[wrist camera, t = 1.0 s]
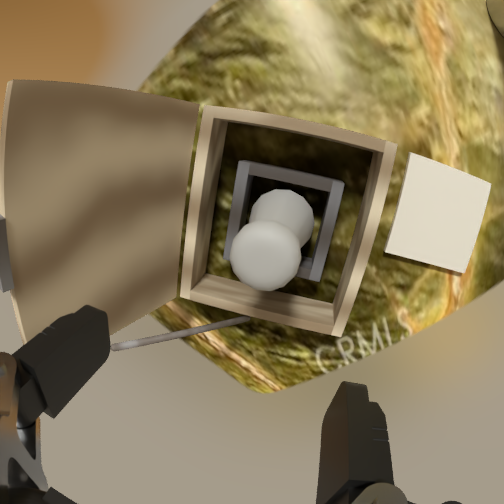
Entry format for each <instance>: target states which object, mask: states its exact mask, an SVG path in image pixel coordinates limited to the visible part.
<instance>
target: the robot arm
mask: <svg viewBox="0 0 504 504" xmlns="http://www.w3.org/2000/svg"><path fill="white" fill-rule="evenodd" d="M486 1H487V8H488V11H489V14H490V16H491V19H492V21H493V22H494V24H495V26H496V27H497V29H498V30H499V32H500V33H501V34H502V36H503V37H504V0H486ZM110 347H111V346H110V336H109V325H108V316H107V313H106V312H105V311H103V310H100V309H98V308H95V307H93V306H90V305H84V306H83V307H82V308H80V309H79V310H78V311H76V312H75V313H70V314H67V315H65V316H62V317H59V318H58V319H57V320H55V321H54V322H53V323H51V324H50V326H49V327H48V326H47V327H46V328H45V329H44V330H42V333H38V334H37V335H36V336H35V337H33V338H32V339H31V340H30V341H28V342H27V343H26V344H25V345H23V346H22V347H21V348H20V349H18V351H16V352H15V353H14V354H12V355H10V354H9V353H5V352H0V504H77V503H75V502H74V501H72V500H70V499H69V498H67V497H66V496H64V495H63V494H61V493H59V492H58V491H57V490H55V489H53V488H52V487H50V488H49V489H48V484H47V480H46V477H45V475H44V472H43V469H42V464H41V443H40V418H39V416H40V414H41V413H42V412H45V413H46V414H47V415H49V416H50V417H52V418H55V417H56V416H57V415H58V414H59V412H60V411H61V410H62V409H63V408H64V407H65V406H66V405H67V403H68V402H69V401H70V400H71V399H72V398H73V397H74V396H75V394H76V393H77V392H78V391H79V390H80V389H81V388H82V387H83V386H84V384H85V383H86V382H87V381H88V380H89V379H90V378H91V377H92V375H94V373H95V372H96V371H97V370H98V369H99V368H100V367H101V366H102V365H103V364H104V363H105V361H106V360H107V358H108V356H109V353H110ZM388 440H389V438H388V431H387V424H386V418H385V414H384V413H383V411H382V409H381V408H380V406H379V405H378V403H376V402H369V397H368V390H367V386H366V385H363V384H358V383H351V382H346V381H343V382H342V383H341V384H340V386H339V388H338V390H337V392H336V394H335V396H334V398H333V400H332V402H331V404H330V406H329V408H328V409H327V411H326V414H325V416H324V420H323V423H322V433H321V450H320V463H319V477H318V487H317V498H316V504H414V503H411V502H409V501H407V498H406V497H405V495H404V493H403V492H402V491H401V490H400V489H399V488H398V487H396V486H395V485H394V481H393V471H392V462H391V453H390V445H389V442H388ZM442 504H461V503H460V502H457V501H448V502H444V503H442Z"/></svg>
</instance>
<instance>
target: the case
mask: <svg viewBox="0 0 504 504" xmlns="http://www.w3.org/2000/svg"><path fill="white" fill-rule="evenodd" d="M228 122H231V123H239V124H245V125H252V126H258V127H264V128H270V129H275V130H281V131H286V132H291V133H296V134H301V135H306V136H311V137H315V138H320V139H324V140H328V141H332V142H337V143H341V144H345V145H349V146H353V147H356V148H360V149H364V150H367V151H371V152H373V156H372V160H371V165H370V170H369V174H368V178H367V183H366V187H365V191H364V195H363V200H362V204H361V208H360V212H359V215H358V219H357V223H356V227H355V231H354V234H353V238H352V241H351V245H350V249H349V252H348V255H347V259H346V262H345V266H344V269H343V272H342V276H341V279H340V282H339V285H338V288H337V291H336V295H335V298H334V301H333V304H331V303H327V302H322V301H318V300H313V299H309V298H305V297H301V296H296V295H292V294H288V293H284V292H279V291H275V290H272V291H263V290H255V289H253V288H251V287H249V286H247V285H245V284H244V283H242V282H239V281H235V280H231V279H227V278H223V277H219V276H215V275H211V274H207V273H206V265H207V258H208V250H209V242H210V235H211V228H212V220H213V213H214V207H215V200H216V193H217V187H218V180H219V174H220V167H221V161H222V155H223V149H224V143H225V137H226V131H227V126H228ZM397 145H398V144H395V143H392V142H389V141H386V140H382V139H379V138H375V137H372V136H368V135H365V134H361V133H357V132H354V131H350V130H346V129H342V128H338V127H333V126H329V125H325V124H320V123H316V122H311V121H306V120H301V119H296V118H291V117H286V116H280V115H275V114H269V113H262V112H256V111H249V110H242V109H234V108H226V107H217V106H208V105H204V110H203V115H202V121H201V127H200V133H199V139H198V146H197V152H196V159H195V166H194V173H193V180H192V187H191V195H190V203H189V211H188V219H187V228H186V238H185V247H184V258H183V269H182V280H181V293H180V297H182V298H186V299H189V300H193V301H196V302H200V303H203V304H207V305H210V306H214V307H218V308H221V309H225V310H229V311H232V312H236V313H240V314H244V315H245V316H241V317H237V318H233V319H229V320H224V321H220V322H216V323H212V324H207V325H203V326H199V327H194V328H190V329H185V330H181V331H176V332H171V333H167V334H162V335H157V336H152V337H147V338H142V339H138V340H132V341H127V342H121V343H116V344H112V345H111V350H113V351H119V350H124V349H129V348H134V347H139V346H144V345H149V344H154V343H158V342H163V341H168V340H172V339H177V338H181V337H185V336H190V335H194V334H198V333H202V332H207V331H211V330H215V329H219V328H223V327H227V326H231V325H235V324H238V323H242V322H246V321H249V320H250V318H251V317H250V316H252V317H256V318H260V319H264V320H268V321H272V322H276V323H280V324H284V325H289V326H293V327H297V328H301V329H306V330H310V331H315V332H319V333H324V334H329V335H333V336H338V337H341V335H342V333H343V330H344V328H345V325H346V322H347V320H348V317H349V314H350V312H351V309H352V306H353V303H354V301H355V298H356V295H357V292H358V289H359V286H360V283H361V280H362V277H363V274H364V271H365V268H366V265H367V262H368V258H369V255H370V252H371V249H372V245H373V242H374V239H375V235H376V232H377V228H378V224H379V221H380V217H381V213H382V210H383V206H384V202H385V198H386V194H387V190H388V186H389V182H390V177H391V173H392V168H393V164H394V159H395V155H396V150H397ZM254 176H259V177H264V178H269V179H274V180H279V181H284V182H288V183H293V184H297V185H302V186H306V187H311V188H315V189H319V190H323V191H328V194H327V199H326V203H325V207H324V212H323V216H322V220H321V224H320V228H319V233H318V237H317V241H316V245H315V249H314V252H313V256H312V258H308V257H304V256H301V261H300V264H299V268H298V271H297V273H296V275H295V276H296V277H300V278H305V279H309V280H313V281H317V282H319V281H320V278H321V274H322V271H323V267H324V264H325V260H326V256H327V253H328V249H329V245H330V241H331V237H332V234H333V230H334V226H335V222H336V218H337V214H338V210H339V206H340V201H341V197H342V193H343V189H344V183H343V181H342V180H338V179H334V178H330V177H326V176H321V175H317V174H313V173H308V172H304V171H299V170H295V169H290V168H285V167H281V166H276V165H271V164H266V163H260V162H255V161H250V160H242V161H239V163H238V169H237V175H236V181H235V187H234V193H233V199H232V205H231V211H230V217H229V224H228V230H227V236H226V243H225V249H224V256H223V259H225V260H229V261H230V258H229V256H230V251H231V247H232V243H233V239H234V238H235V236H236V235H237V234H238V233H239V232H240V230H241V229H242V228H243V227H244V226H245V223H246V217H247V212H248V206H249V200H250V195H251V189H252V183H253V178H254Z"/></svg>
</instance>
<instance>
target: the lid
mask: <svg viewBox="0 0 504 504" xmlns="http://www.w3.org/2000/svg"><path fill="white" fill-rule="evenodd" d="M199 106H200V104H196V103H192V102H187V101H183V100H178V99H174V98H169V97H164V96H159V95H154V94H149V93H143V92H138V91H131V90H126V89H119V88H112V87H105V86H98V85H89V84H80V83H70V82H57V81H42V80H41V81H40V80H11V81H9V82H8V83H7V89H6V96H5V103H4V109H3V118H2V128H1V140H0V289H1V290H2V292H6V291H9V290H10V293H11V297H12V302H13V307H14V311H15V315H16V319H17V323H18V327H19V331H20V334H21V338H22V341H23V345H25V344H26V343H27V342H28V341H30V340H31V339H32V338H33V337H35V336H36V335H37V334H38V333H42V330H44V329H45V328H46V327H47V326H48V327H49V326H50V324H51V323H53V322H54V321H55V320H57V319H58V318H59V317H62V316H65V315H67V314H70V313H75V312H76V311H78V310H79V309H80V308H82V307H83V306H84V305H90V306H93V307H95V308H98V309H100V310H103V311H105V312H106V313H107V316H108V325H109V336H110V335H112V334H114V333H115V332H117V331H119V330H120V329H122V328H124V327H126V326H128V325H129V324H131V323H133V322H135V321H136V320H138V319H140V318H141V317H143V316H145V315H147V314H148V313H150V312H152V311H154V310H155V309H157V308H159V307H161V306H162V305H164V304H166V303H167V302H169V301H171V300H173V299H174V298H176V293H177V279H178V267H179V255H180V245H181V235H182V225H183V216H184V207H185V199H186V191H187V183H188V176H189V168H190V161H191V154H192V148H193V141H194V135H195V129H196V123H197V117H198V111H199Z"/></svg>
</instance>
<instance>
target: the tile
mask: <svg viewBox="0 0 504 504" xmlns="http://www.w3.org/2000/svg"><path fill="white" fill-rule="evenodd" d="M490 188H491V184H490V183H488V182H486V181H484V180H481V179H479V178H477V177H474V176H472V175H470V174H467V173H465V172H462V171H460V170H457V169H455V168H452V167H450V166H447V165H445V164H442V163H439V162H436V161H434V160H431V159H428V158H425V157H423V156H420V155H417V154H414V153H410V152H409V155H408V160H407V164H406V169H405V173H404V178H403V182H402V186H401V190H400V194H399V198H398V202H397V206H396V210H395V213H394V217H393V221H392V224H391V228H390V231H389V235H388V238H387V241H386V245H385V248H384V251H385V252H386V253H390V254H394V255H398V256H402V257H406V258H409V259H413V260H417V261H421V262H424V263H428V264H432V265H436V266H439V267H443V268H446V269H450V270H454V271H457V272H461V273H465V270H466V268H467V265H468V262H469V260H470V257H471V254H472V251H473V248H474V245H475V242H476V239H477V236H478V232H479V229H480V226H481V222H482V219H483V215H484V212H485V208H486V204H487V200H488V196H489V192H490Z"/></svg>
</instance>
